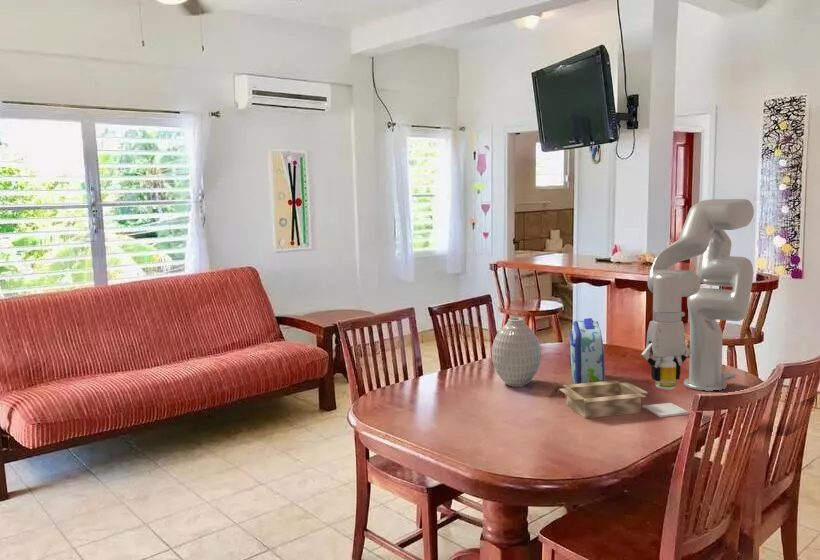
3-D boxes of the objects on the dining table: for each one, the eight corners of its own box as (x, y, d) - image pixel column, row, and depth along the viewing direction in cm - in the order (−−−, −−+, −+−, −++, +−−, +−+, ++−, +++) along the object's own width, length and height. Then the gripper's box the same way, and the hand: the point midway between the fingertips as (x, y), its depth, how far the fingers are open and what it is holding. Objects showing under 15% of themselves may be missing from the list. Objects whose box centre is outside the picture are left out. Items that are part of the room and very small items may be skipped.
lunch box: (569, 372, 237) (568, 314, 234) (600, 373, 235) (600, 314, 232) (571, 395, 212) (571, 330, 209) (607, 396, 209) (607, 330, 207)
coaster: (670, 404, 199) (671, 402, 199) (689, 414, 190) (689, 412, 190) (643, 407, 197) (643, 405, 197) (660, 417, 188) (660, 415, 188)
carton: (622, 396, 208) (623, 379, 207) (653, 414, 191) (653, 395, 190) (555, 403, 204) (555, 385, 203) (580, 422, 187) (580, 402, 186)
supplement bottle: (651, 385, 194) (652, 353, 193) (666, 383, 196) (667, 351, 195) (664, 390, 189) (665, 357, 188) (679, 388, 191) (680, 355, 190)
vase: (486, 388, 222) (485, 322, 219) (499, 375, 236) (498, 313, 234) (535, 392, 215) (534, 324, 213) (545, 379, 230) (544, 315, 227)
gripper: (686, 312, 195) (685, 373, 197) (632, 316, 192) (631, 378, 194) (702, 317, 188) (700, 380, 190) (646, 321, 185) (645, 385, 187)
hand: (665, 378), depth 192 cm, fingers closed on supplement bottle, 5 cm apart
